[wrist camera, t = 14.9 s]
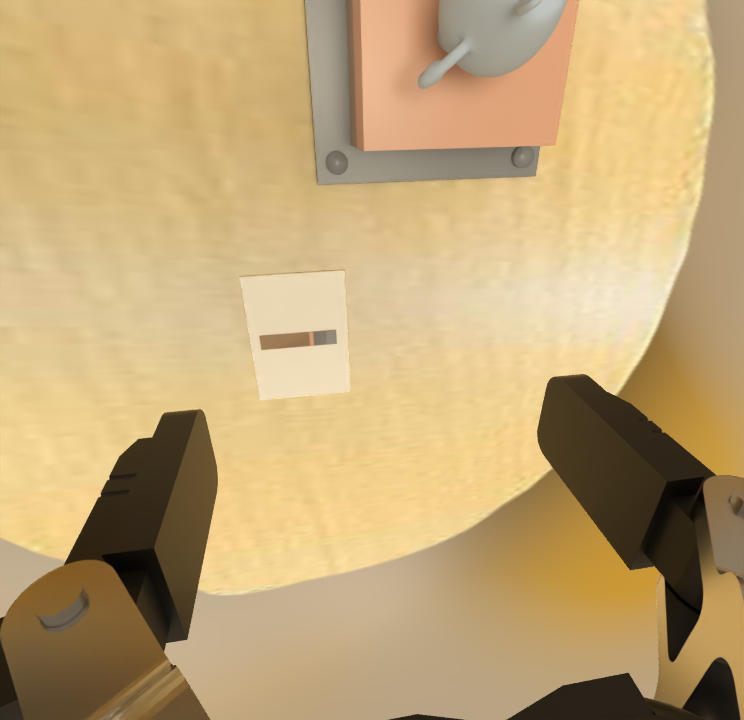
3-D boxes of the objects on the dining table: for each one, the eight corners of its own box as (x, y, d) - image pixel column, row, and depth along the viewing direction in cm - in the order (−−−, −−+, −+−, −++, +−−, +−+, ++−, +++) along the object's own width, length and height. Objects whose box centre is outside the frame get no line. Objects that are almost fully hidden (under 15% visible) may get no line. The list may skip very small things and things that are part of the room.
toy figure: (508, -101, 25) (659, -257, 15) (559, 4, 28) (716, -64, 18) (371, 45, 27) (417, 0, 17) (430, 130, 30) (501, 135, 20)
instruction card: (260, 399, 49) (259, 401, 48) (239, 276, 42) (239, 277, 42) (350, 390, 50) (350, 392, 50) (344, 269, 43) (344, 270, 43)
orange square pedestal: (317, 183, 39) (323, 199, 31) (294, -137, 30) (294, -230, 22) (530, 175, 42) (584, 187, 34) (573, -123, 32) (663, -201, 24)
